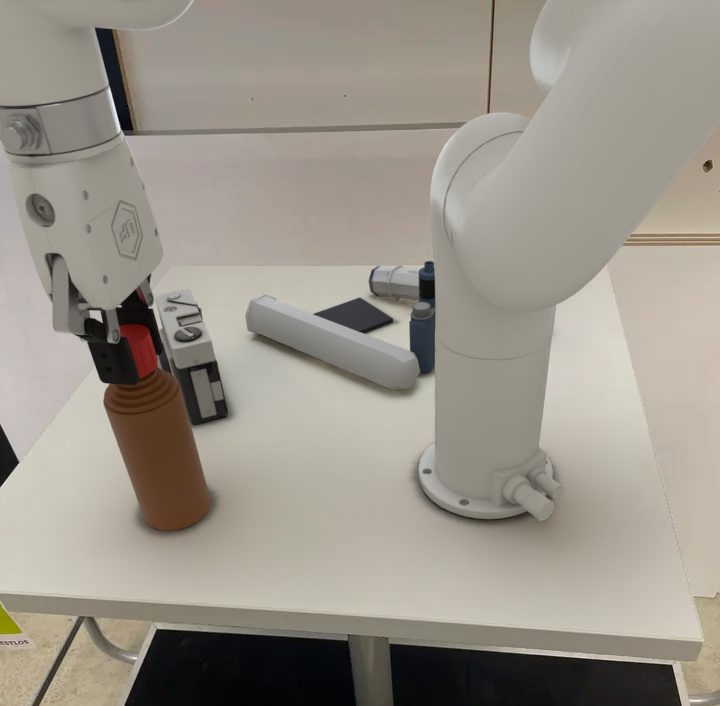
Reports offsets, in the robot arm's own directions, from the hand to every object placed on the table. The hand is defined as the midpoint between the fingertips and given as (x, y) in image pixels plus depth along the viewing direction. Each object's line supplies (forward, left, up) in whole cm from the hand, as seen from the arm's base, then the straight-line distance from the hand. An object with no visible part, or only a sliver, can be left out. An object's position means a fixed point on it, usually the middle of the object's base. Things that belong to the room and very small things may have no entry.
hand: (133, 365), depth 59 cm
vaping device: (+6, -34, -16) cm, 38 cm away
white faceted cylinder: (+14, -45, -16) cm, 49 cm away
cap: (0, 0, 0) cm, 0 cm away
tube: (+14, -26, -16) cm, 33 cm away
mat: (+21, -33, -16) cm, 42 cm away
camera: (+18, -8, -16) cm, 26 cm away
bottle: (0, 0, -16) cm, 16 cm away
